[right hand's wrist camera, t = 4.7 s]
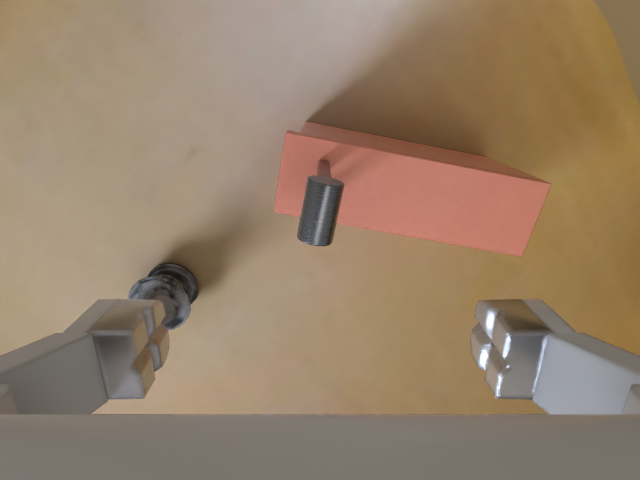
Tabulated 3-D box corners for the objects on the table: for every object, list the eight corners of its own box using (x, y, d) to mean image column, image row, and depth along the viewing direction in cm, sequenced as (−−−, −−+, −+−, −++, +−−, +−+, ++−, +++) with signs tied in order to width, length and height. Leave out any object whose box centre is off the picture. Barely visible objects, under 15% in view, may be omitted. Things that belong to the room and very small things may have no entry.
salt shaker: (154, 251, 40) (89, 315, 28) (209, 276, 41) (167, 347, 29) (136, 297, 41) (67, 374, 30) (188, 319, 42) (141, 402, 31)
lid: (275, 207, 28) (256, 257, 20) (287, 130, 26) (271, 149, 18) (515, 251, 29) (591, 315, 21) (543, 180, 27) (639, 219, 19)
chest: (295, 179, 37) (287, 209, 28) (305, 120, 35) (299, 132, 26) (467, 211, 38) (514, 250, 29) (485, 156, 36) (542, 180, 27)
